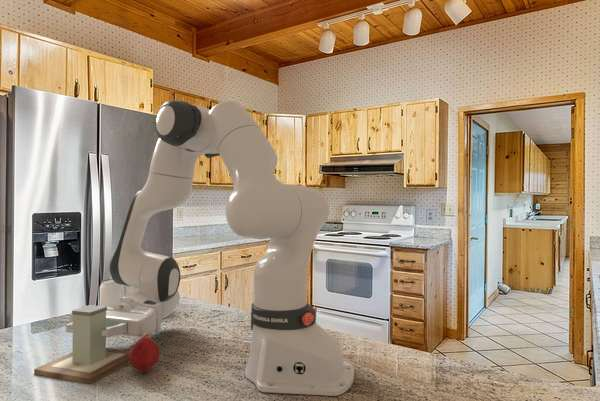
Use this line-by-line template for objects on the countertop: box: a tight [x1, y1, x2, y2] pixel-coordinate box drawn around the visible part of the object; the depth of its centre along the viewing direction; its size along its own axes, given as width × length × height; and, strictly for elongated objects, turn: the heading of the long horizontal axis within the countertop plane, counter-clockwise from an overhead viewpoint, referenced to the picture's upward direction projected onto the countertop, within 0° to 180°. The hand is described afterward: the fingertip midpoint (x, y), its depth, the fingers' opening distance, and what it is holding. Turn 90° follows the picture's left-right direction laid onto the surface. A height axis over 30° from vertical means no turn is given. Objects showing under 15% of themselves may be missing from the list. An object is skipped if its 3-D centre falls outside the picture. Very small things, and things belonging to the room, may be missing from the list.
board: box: [33, 347, 131, 384], centre depth 87 cm, size 14×14×1 cm
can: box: [99, 278, 125, 307], centre depth 116 cm, size 6×6×12 cm
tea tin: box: [71, 304, 107, 365], centre depth 87 cm, size 5×5×11 cm
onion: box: [129, 334, 161, 374], centre depth 83 cm, size 6×6×8 cm
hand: (86, 331), depth 86 cm, fingers open, 8 cm apart
